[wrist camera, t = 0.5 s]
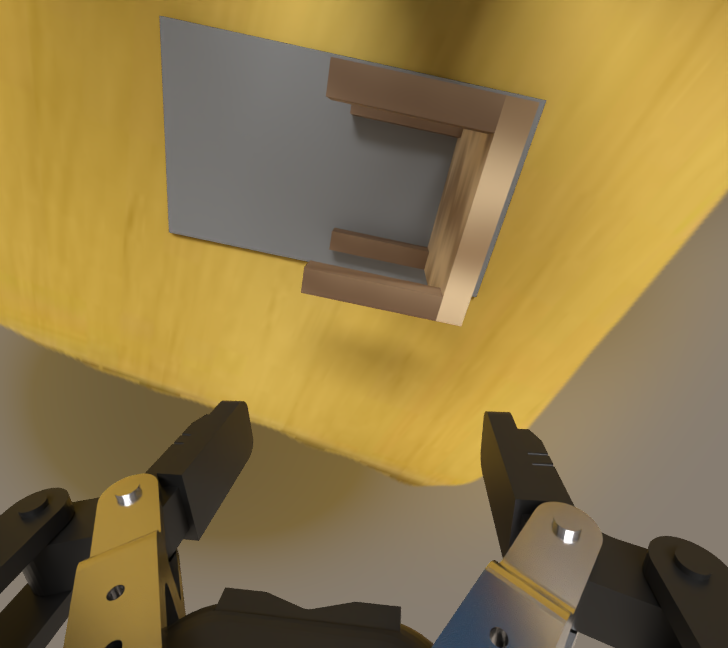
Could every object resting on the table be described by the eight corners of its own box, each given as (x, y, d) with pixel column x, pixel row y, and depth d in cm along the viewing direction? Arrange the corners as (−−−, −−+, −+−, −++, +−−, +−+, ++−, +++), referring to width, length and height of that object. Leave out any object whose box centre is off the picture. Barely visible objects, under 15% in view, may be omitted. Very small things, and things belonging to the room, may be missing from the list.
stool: (356, 91, 28) (330, 56, 17) (484, 119, 28) (539, 102, 17) (332, 245, 33) (301, 292, 22) (440, 268, 33) (461, 326, 23)
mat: (162, 17, 27) (159, 15, 27) (544, 101, 28) (546, 100, 27) (171, 231, 34) (169, 232, 34) (475, 295, 35) (476, 297, 34)
